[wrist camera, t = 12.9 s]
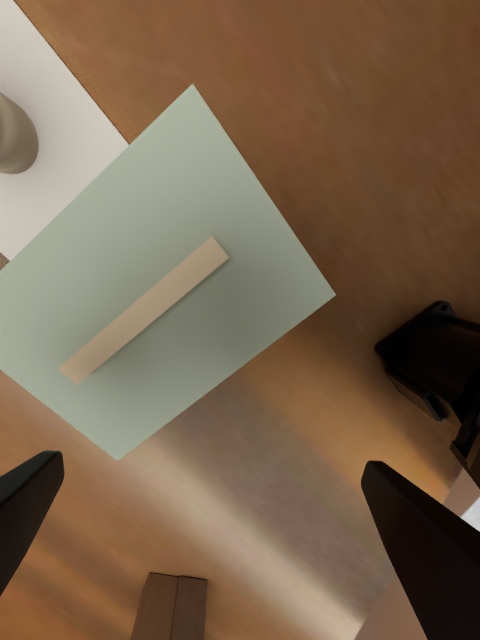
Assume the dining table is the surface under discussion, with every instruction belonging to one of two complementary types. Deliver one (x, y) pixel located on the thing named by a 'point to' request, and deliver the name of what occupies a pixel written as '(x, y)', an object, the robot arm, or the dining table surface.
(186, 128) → the pale green box
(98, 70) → the dining table surface
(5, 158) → the beige cylinder
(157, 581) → the wooden toy
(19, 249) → the mat
